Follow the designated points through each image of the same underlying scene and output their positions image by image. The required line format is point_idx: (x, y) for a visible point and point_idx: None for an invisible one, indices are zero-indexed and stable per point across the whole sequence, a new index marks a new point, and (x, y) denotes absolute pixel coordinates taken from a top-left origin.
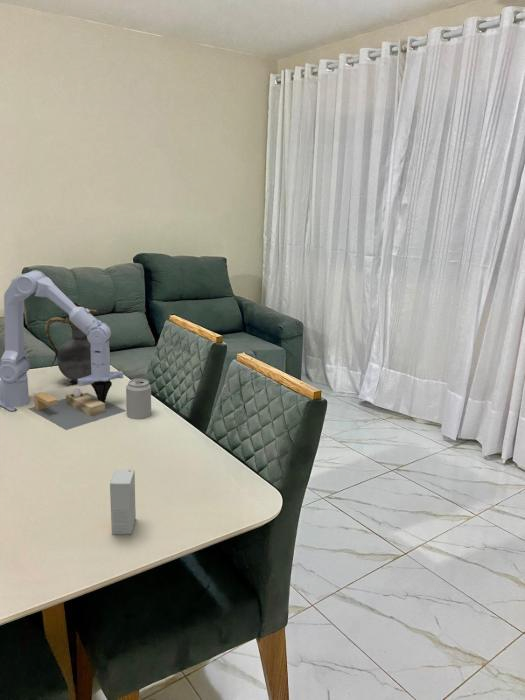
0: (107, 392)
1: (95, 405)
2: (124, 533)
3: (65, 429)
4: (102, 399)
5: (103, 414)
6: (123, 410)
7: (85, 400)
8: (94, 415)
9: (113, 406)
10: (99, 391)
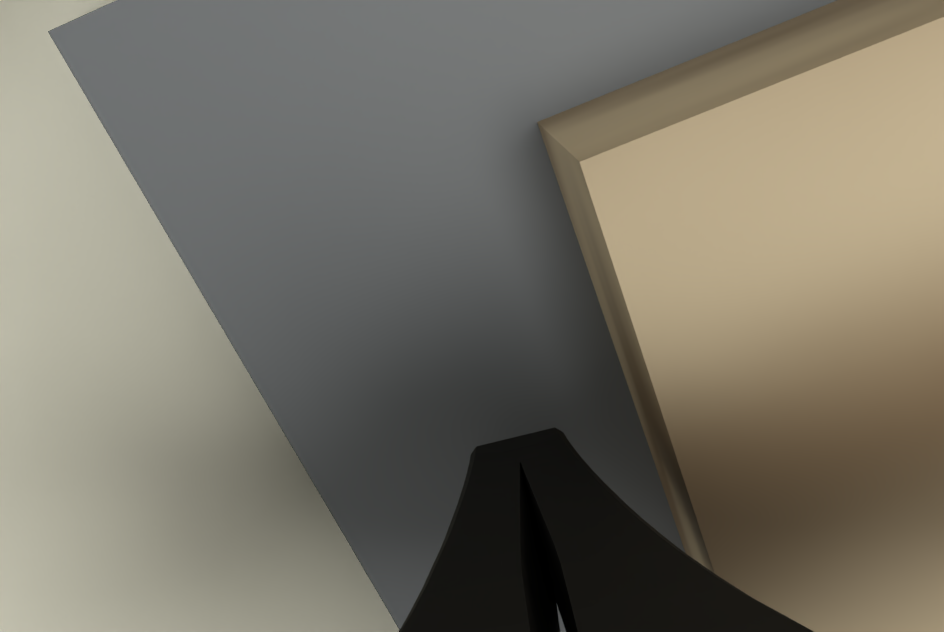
0: (416, 616)
1: (879, 96)
2: None
3: None
4: (550, 476)
5: (607, 6)
6: (120, 79)
7: (941, 511)
8: (805, 15)
9: (308, 371)
10: (748, 611)
